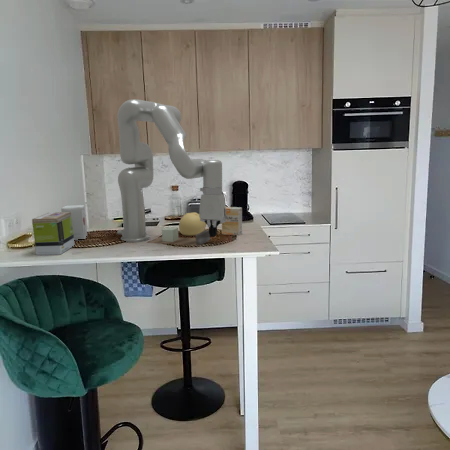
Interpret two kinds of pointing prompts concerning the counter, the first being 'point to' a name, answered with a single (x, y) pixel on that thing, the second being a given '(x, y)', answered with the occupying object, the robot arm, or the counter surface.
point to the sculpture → (191, 224)
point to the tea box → (53, 233)
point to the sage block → (169, 234)
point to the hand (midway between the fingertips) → (213, 236)
